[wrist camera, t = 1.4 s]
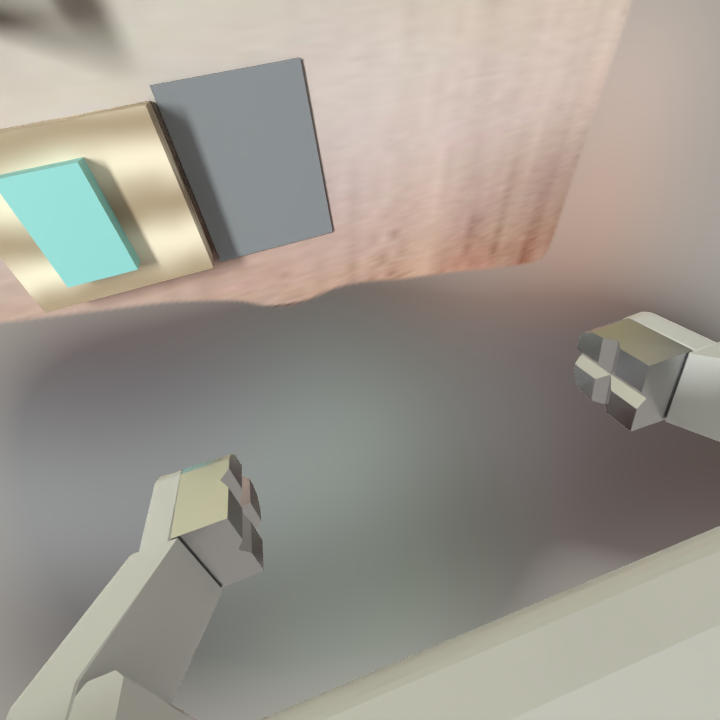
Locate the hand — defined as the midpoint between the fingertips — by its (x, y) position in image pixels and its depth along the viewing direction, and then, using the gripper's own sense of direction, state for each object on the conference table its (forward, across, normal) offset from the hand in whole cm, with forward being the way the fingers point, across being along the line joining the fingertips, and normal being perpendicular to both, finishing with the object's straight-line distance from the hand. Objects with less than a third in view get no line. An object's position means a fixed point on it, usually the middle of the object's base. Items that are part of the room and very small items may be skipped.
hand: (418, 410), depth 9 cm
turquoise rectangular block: (+33, +18, -2) cm, 38 cm away
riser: (+37, +17, -2) cm, 41 cm away
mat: (+38, +2, -2) cm, 38 cm away
